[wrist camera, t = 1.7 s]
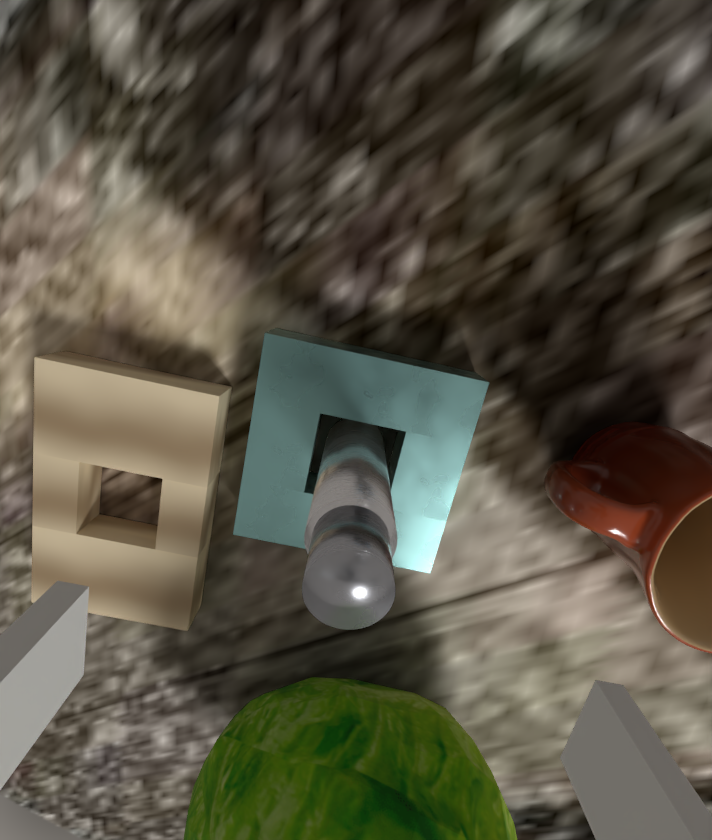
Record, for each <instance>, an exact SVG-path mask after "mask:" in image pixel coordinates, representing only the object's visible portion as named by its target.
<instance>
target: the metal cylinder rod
mask: <svg viewBox="0 0 712 840" xmlns="http://www.w3.org/2000/svg"><path fill="white" fill-rule="evenodd" d="M304 543H305V548H306V551H307V554H308V558H307V563H306V568H305V573H304V578H303V584H302V595H303V599H304V602H305V605H306V607H307V608H308V610H309V611H310V612H311V614H312V615H313V616H314V617H315V618H317V619H318V620H319V621H321V622H322V623H324V624H326V625H328V626H331V627H334V628H338V629H344V630H354V629H361V628H365V627H368V626H370V625H372V624H374V623H376V622H378V621H379V620H380V619H382V618H383V617H384V616H385V615H386V614H387V612H388V611H389V610H390V608H391V606H392V604H393V602H394V598H395V581H394V572H393V563H392V558H393V556H394V554H395V551H396V548H397V530H396V523H395V516H394V510H393V503H392V496H391V489H390V482H389V475H388V469H387V462H386V455H385V448H384V441H383V437H382V434H381V432H380V430H379V429H378V427H377V426H376V425H373V424H368V423H363V422H359V421H354V420H349V419H342V420H340V421H339V422H337V423H336V424H335V425H334V426H333V427H332V428H331V429H330V431H329V433H328V435H327V439H326V443H325V447H324V452H323V456H322V460H321V464H320V469H319V473H318V477H317V482H316V486H315V490H314V494H313V499H312V503H311V507H310V512H309V516H308V520H307V524H306V529H305V534H304Z"/></svg>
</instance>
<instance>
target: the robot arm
mask: <svg viewBox="0 0 712 840" xmlns="http://www.w3.org/2000/svg"><path fill="white" fill-rule="evenodd" d="M88 597H89V586H84V585H79V584H73V583H68V582H62V581H57V582H56V583H55V584H53V585H52V586H51V587H50V588H49V589H48V590H47V591H46V592H45V593H44V594H43V595H42V596H41V597H40V598H39V599H38V600H37V601H36V602H35V603H33V604H32V605H31V606H30V607H29V608H28V609H27V610H26V611H25V612H24V613H23V614H22V615H21V616H20V617H19V618H18V619H17V620H16V621H15V622H14V623H12V624H11V625H10V626H9V627H8V628H7V629H6V630H5V631H4V632H3V633H2V634H1V635H0V790H1V788H2V787H3V786H4V784H5V783H6V781H7V780H8V779H9V777H10V776H11V774H12V773H13V772H14V770H15V769H16V768H17V766H18V765H19V763H20V762H21V761H22V759H23V758H24V756H25V755H26V754H27V752H28V751H29V750H30V748H31V747H32V745H33V744H34V743H35V741H36V740H37V738H38V737H39V736H40V734H41V733H42V732H43V730H44V729H45V727H46V726H47V725H48V723H49V722H50V721H51V719H52V718H53V716H54V715H55V714H56V712H57V711H58V709H59V708H60V707H61V705H62V704H63V703H64V701H65V700H66V698H67V697H68V696H69V694H70V693H71V691H72V690H73V689H74V687H75V686H76V685H77V683H78V682H79V680H80V679H81V678H82V676H83V675H84V660H85V644H86V628H87V613H88ZM560 759H561V761H562V763H563V765H564V768H565V770H566V772H567V775H568V777H569V779H570V781H571V784H572V786H573V788H574V791H575V793H576V795H577V797H578V800H579V802H580V804H581V807H582V809H583V811H584V813H585V816H586V818H587V820H588V823H589V825H590V827H591V829H592V832H593V834H594V836H595V839H596V840H712V815H711V813H710V812H709V811H708V809H707V808H706V806H705V805H704V803H703V802H702V800H701V799H700V797H699V796H698V794H697V793H696V791H695V790H694V788H693V787H692V786H691V784H690V783H689V781H688V780H687V778H686V777H685V775H684V774H683V772H682V771H681V769H680V768H679V766H678V765H677V763H676V762H675V761H674V759H673V758H672V756H671V755H670V753H669V752H668V750H667V749H666V747H665V746H664V744H663V743H662V741H661V740H660V738H659V737H658V736H657V734H656V733H655V731H654V730H653V728H652V727H651V725H650V724H649V722H648V721H647V719H646V718H645V716H644V715H643V713H642V712H641V711H640V709H639V708H638V706H637V705H636V703H635V702H634V700H633V699H632V697H631V696H630V694H629V693H628V691H627V690H626V688H625V687H624V686H623V685H620V684H614V683H609V682H603V681H598V680H595V682H594V685H593V687H592V689H591V691H590V693H589V696H588V698H587V700H586V702H585V704H584V707H583V709H582V711H581V713H580V715H579V718H578V720H577V722H576V724H575V726H574V728H573V731H572V733H571V735H570V737H569V739H568V742H567V744H566V746H565V748H564V750H563V753H562V755H561V757H560Z"/></svg>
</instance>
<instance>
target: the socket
mask: <svg viewBox="0 0 712 840" xmlns="http://www.w3.org/2000/svg"><path fill="white" fill-rule="evenodd" d="M488 385H489V382H488V381H487V380H485V379H484V378H483V377H481V376H480V375H478V374H477V373H476V372H472V371H468V370H463V369H459V368H454V367H449V366H445V365H440V364H436V363H431V362H427V361H422V360H418V359H413V358H409V357H404V356H400V355H395V354H391V353H386V352H382V351H377V350H373V349H368V348H364V347H359V346H355V345H350V344H346V343H341V342H337V341H332V340H328V339H323V338H319V337H314V336H310V335H305V334H301V333H296V332H291V331H287V330H282V329H278V328H275V329H272V330H270V331H268V332H266V333H265V335H264V341H263V348H262V354H261V360H260V367H259V373H258V379H257V386H256V392H255V398H254V405H253V411H252V417H251V424H250V430H249V436H248V443H247V449H246V455H245V462H244V468H243V474H242V481H241V487H240V493H239V500H238V506H237V512H236V519H235V525H234V532H233V535H238V536H243V537H248V538H253V539H258V540H263V541H268V542H273V543H278V544H283V545H288V546H294V547H299V548H304V549H306V548H305V543H304V534H305V529H306V524H307V520H308V516H309V512H310V507H311V503H312V499H313V494H314V490H315V486H316V482H317V477H318V473H314V472H310V469H311V464H312V459H313V454H314V449H315V444H316V439H317V434H318V430H319V425H320V420H321V415H322V414H326V415H330V416H335V417H340V418H345V419H349V420H354V421H359V422H363V423H368V424H373V425H377V426H382V427H387V428H392V429H396V430H398V432H397V436H396V440H395V444H394V448H393V452H392V455H391V459H390V463H389V467H388V475H389V482H390V489H391V496H392V503H393V510H394V516H395V523H396V530H397V548H396V551H395V554H394V556H393V558H392V563H393V566H395V567H400V568H405V569H410V570H415V571H420V572H426V573H430V572H431V569H432V566H433V563H434V559H435V556H436V553H437V550H438V546H439V543H440V540H441V537H442V533H443V530H444V527H445V524H446V521H447V517H448V514H449V511H450V508H451V504H452V501H453V498H454V495H455V492H456V488H457V485H458V482H459V479H460V475H461V472H462V469H463V466H464V462H465V459H466V456H467V453H468V450H469V446H470V443H471V440H472V437H473V433H474V430H475V427H476V424H477V420H478V417H479V414H480V411H481V408H482V404H483V401H484V398H485V395H486V391H487V388H488Z"/></svg>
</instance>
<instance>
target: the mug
mask: <svg viewBox="0 0 712 840" xmlns="http://www.w3.org/2000/svg"><path fill="white" fill-rule="evenodd" d="M544 488H545V491H546V493H547V495H548V497H549V498H550V499H551V501H552V502H553V503H554V505H555V506H556V507H557V508H558V509H559V510H560V511H561V512H562V513H563V514H565V515H566V516H567V517H568V518H570V519H571V520H573V521H574V522H576V523H578V524H580V525H581V526H583V527H585V528H587V529H590V530H591V531H592V532H593V533H594V534H596V535H597V536H598V537H599V538H600V539H601V540H602V541H603V542H604V543H605V544H606V545H607V546H608V547H609V548H610V549H611V550H612V551H613V552H614V553H615V554H616V555H617V556H618V557H619V558H621V559H622V560H623V561H624V562H625V563H626V564H627V565H628V566H629V567H630V568H631V569H632V570H633V572H634V573H635V575H636V576H637V578H638V580H639V582H640V585H641V587H642V589H643V591H644V594H645V596H646V599H647V601H648V604H649V606H650V608H651V610H652V612H653V614H654V616H655V617H656V619H657V620H658V622H659V623H660V624H661V626H662V627H663V628H664V629H665V630H666V631H667V632H668V633H669V634H670V635H672V636H673V637H674V638H676V639H677V640H678V641H680V642H682V643H684V644H685V645H687V646H690V647H692V648H694V649H697V650H700V651H704V652H708V653H712V447H710V446H708V445H706V444H704V443H702V442H700V441H698V440H695V439H693V438H691V437H689V436H687V435H686V434H684V433H682V432H680V431H678V430H675V429H672V428H669V427H663V426H657V425H652V424H648V423H642V422H625V423H620V424H615V425H612V426H609V427H607V428H605V429H603V430H601V431H599V432H597V433H596V434H594V435H593V436H591V437H590V438H588V439H587V440H586V441H585V442H584V443H583V444H582V445H581V446H580V448H579V449H578V451H577V452H576V454H575V455H574V457H573V459H572V461H565V460H562V461H556V462H554V463H553V464H552V465H551V466H550V468H549V470H548V472H547V474H546V476H545V479H544Z"/></svg>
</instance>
